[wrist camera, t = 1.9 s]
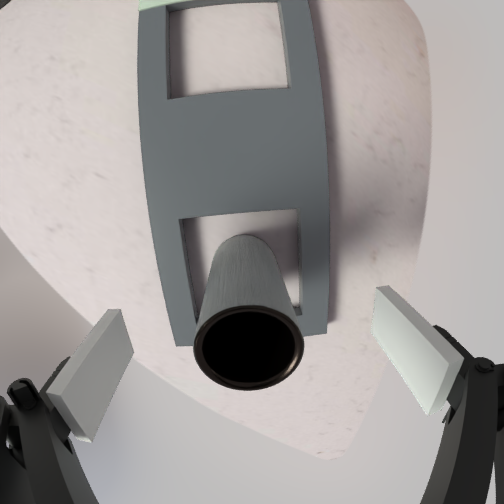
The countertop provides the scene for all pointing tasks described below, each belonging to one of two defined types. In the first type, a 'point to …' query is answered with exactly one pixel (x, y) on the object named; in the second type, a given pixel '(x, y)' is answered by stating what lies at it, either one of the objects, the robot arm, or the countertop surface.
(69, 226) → the countertop surface
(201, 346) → the grey hollow cylinder
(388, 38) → the countertop surface
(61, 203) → the countertop surface
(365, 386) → the countertop surface
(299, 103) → the panel
